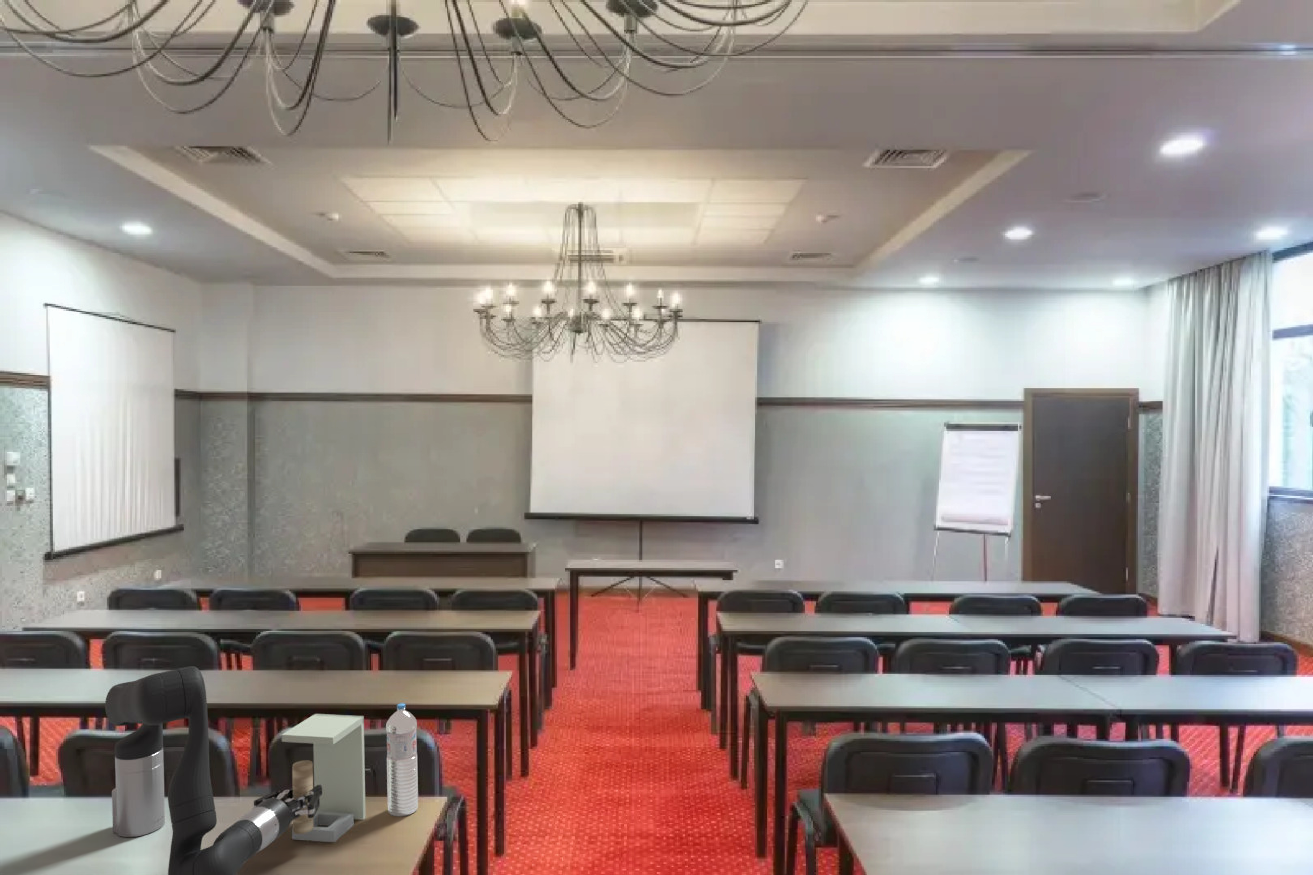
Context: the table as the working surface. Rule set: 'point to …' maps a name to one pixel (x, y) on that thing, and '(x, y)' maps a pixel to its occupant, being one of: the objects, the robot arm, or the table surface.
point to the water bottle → (402, 763)
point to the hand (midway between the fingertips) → (310, 788)
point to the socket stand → (334, 772)
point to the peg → (302, 792)
